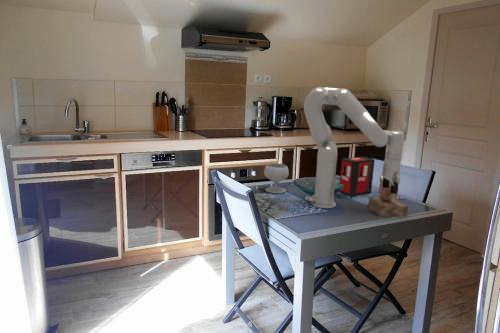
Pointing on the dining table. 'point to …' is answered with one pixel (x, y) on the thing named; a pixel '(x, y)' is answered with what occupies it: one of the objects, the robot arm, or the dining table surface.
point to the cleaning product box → (356, 176)
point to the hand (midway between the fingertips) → (389, 190)
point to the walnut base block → (388, 207)
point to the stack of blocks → (387, 188)
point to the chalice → (276, 176)
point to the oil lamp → (385, 194)
